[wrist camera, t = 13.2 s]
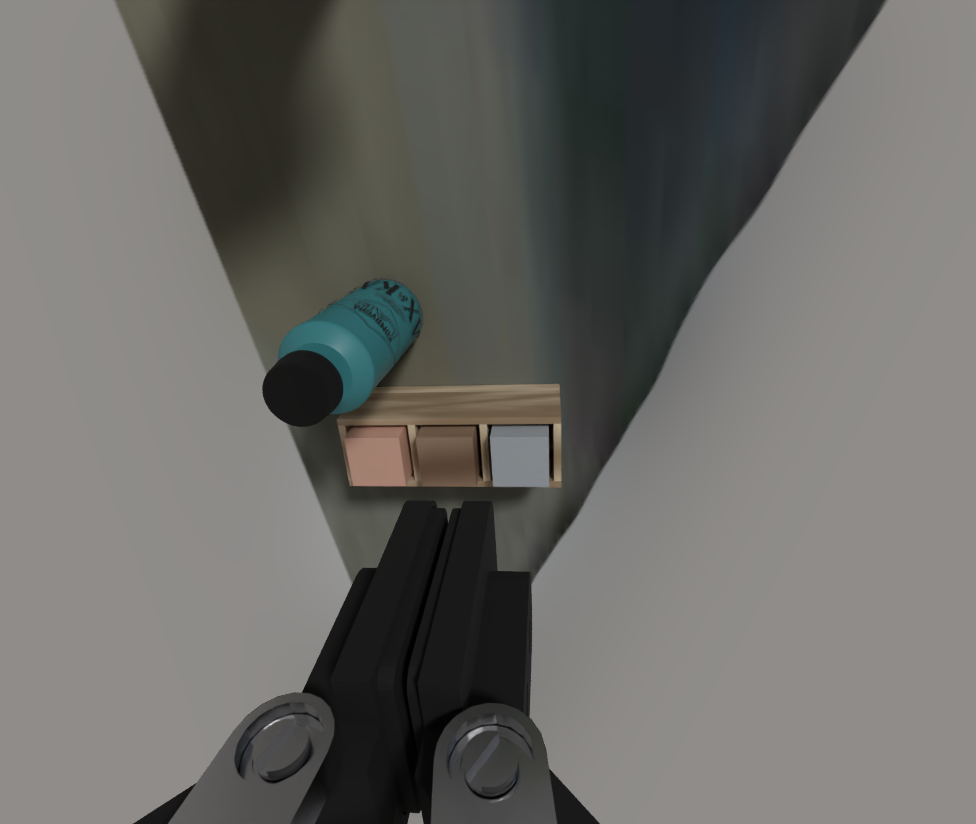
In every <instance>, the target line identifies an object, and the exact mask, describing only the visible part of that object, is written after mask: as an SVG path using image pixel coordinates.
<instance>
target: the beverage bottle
mask: <svg viewBox="0 0 976 824" xmlns="http://www.w3.org/2000/svg"><path fill="white" fill-rule="evenodd" d="M376 279H378V278H376ZM376 279H374V281H371V282H370V281H369V282H368V281H367V282H366V283H365V284H364V285H363V286H362V287H360V288H359V289H357V290H355V289H356V288H357V287H356V288H355V289H354V292H353V291H352V290H351V291H352V292H351V293H349V295H347V296H346V297H344V298H342V299H341V300H339V301H337V302H336V303H334V304H332V303H333V302H332V303H331V304H332V305H331V304H329V307H328V308H326V309H325V310H323V311H322V312H321V313H318V315H316V316H314V317H313V318H311V319H309V320H308V321H306V322H304V323H302V324H300V325H298V326H296V327H295V328H293V329H292V330H291V331H290V332H289V333H287V335H286V336H285V337H284V339H283V341H282V343H281V345H280V348H279V353H278V362H277V363H276V364H275V365H274V367H273V368H272V369H271V370H270V371H269V372H268V373H267V374H266V376H265V379H264V382H263V389H262V390H263V397H264V400H265V403H266V405H267V406H268V408H269V409H270V411H271V412H272V413H273V414H274V415H275V416H276V417H277V418H279V419H280V420H282V421H283V422H285V423H287V424H290V425H293V426H299V427H306V426H311V425H314V424H316V423H318V422H320V421H321V420H322V419H323V418H325V417H326V416H327V415H329V414H343V413H347V412H350V411H353V410H355V409H356V408H358V407H360V406H361V405H362V404H363V403H364V402H365V401H366V400H367V399H368V397H369V396H370V394H371V392H372V391H373V390H374V388H375V387H376V386H377V385H378V383H379V382H380V381H381V380H382V379H383V377H384V376H386V374H387V373H388V372H390V370H391V369H392V368H394V367H393V366H394V365H395V364H396V362H397V361H398V360H399V359H400V357H401V359H402V355H403V354H404V352H408V351H409V350H408V351H407V349H409V348H408V347H409V346H410V345H411V344H412V342H413V341H414V340H415V339H416V337H417V338H418V335H419V332H420V329H421V325H422V314H423V313H422V314H421V310H422V309H421V308H420V307H421V306H420V305H419V303H418V302H419V301H417V298H416V296H415V295H413V293H412V292H411V291H410V290H409V289H408V288H406V286H405V285H402V284H400V282H399V283H398V282H395V280H394V281H392V279H391V280H385V279H387V278H385V279H380V280H376ZM358 287H359V286H358ZM346 294H347V293H346ZM341 297H342V296H341ZM330 305H331V306H330ZM326 306H327V305H326ZM419 336H420V335H419ZM416 340H417V339H416ZM412 346H413V345H412ZM412 346H410V347H412ZM405 354H406V353H405ZM403 357H404V356H403ZM401 359H400V361H401ZM400 361H399V362H400ZM399 362H398V363H399ZM396 365H398V364H396ZM386 377H387V376H386Z"/></svg>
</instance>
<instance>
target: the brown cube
mask: <svg viewBox="0 0 976 824" xmlns="http://www.w3.org/2000/svg"><path fill="white" fill-rule="evenodd" d="M416 444H417V451H418V459H419V467H420V474H421V482H422V486H450V487H476V486H477V482H478V477H479V473H480V468H481V464H482V454H481V441H480V427H479V424H469V425H422V426H421V428H420V430H419V432H418V434H417V436H416Z"/></svg>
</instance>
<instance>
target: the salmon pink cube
mask: <svg viewBox="0 0 976 824" xmlns="http://www.w3.org/2000/svg"><path fill="white" fill-rule="evenodd" d="M344 441H345V446H346V452H347V457H348V462H349V467H350V472H351V477H352V482H353V486H406V485H407V482H408V480H409V478H410V476H411V473H412V471H413V462H412V454H411V447H410V440H409V433H408V425H353V427H352V428H351V429H350V431H349V432H348V433H347V435H346V436H345V437H344Z"/></svg>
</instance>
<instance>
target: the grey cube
mask: <svg viewBox="0 0 976 824" xmlns="http://www.w3.org/2000/svg"><path fill="white" fill-rule="evenodd" d="M490 446H491V461H492V476H493V487H549V424H493V425H492V430H491V435H490Z"/></svg>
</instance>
